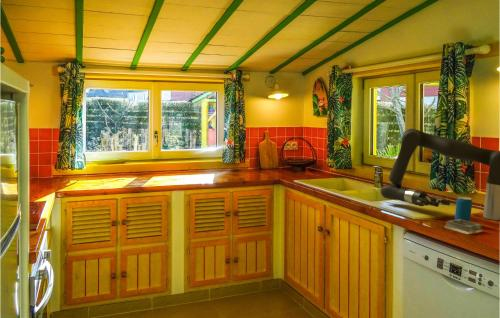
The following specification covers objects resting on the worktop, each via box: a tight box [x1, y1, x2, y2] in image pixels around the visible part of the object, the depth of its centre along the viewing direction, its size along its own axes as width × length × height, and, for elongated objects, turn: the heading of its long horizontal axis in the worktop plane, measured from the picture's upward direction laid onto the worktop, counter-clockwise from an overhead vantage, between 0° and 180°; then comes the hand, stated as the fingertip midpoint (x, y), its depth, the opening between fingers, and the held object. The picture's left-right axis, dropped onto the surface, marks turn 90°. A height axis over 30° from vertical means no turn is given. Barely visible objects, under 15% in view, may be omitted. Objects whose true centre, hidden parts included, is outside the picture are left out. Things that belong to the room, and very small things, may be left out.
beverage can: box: [454, 196, 473, 222], centre depth 201 cm, size 6×6×12 cm
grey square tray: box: [444, 219, 484, 235], centre depth 191 cm, size 11×11×3 cm
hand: (444, 204), depth 210 cm, fingers open, 8 cm apart
